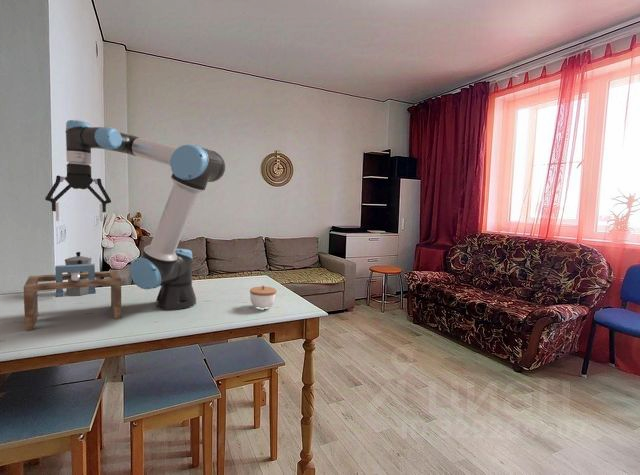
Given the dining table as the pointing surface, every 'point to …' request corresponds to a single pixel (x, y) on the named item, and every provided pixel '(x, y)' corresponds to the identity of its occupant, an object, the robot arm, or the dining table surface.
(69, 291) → the coffeepot
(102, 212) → the robot arm
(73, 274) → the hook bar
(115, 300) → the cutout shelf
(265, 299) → the lidded jar
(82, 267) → the blue square arch
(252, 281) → the dining table surface
